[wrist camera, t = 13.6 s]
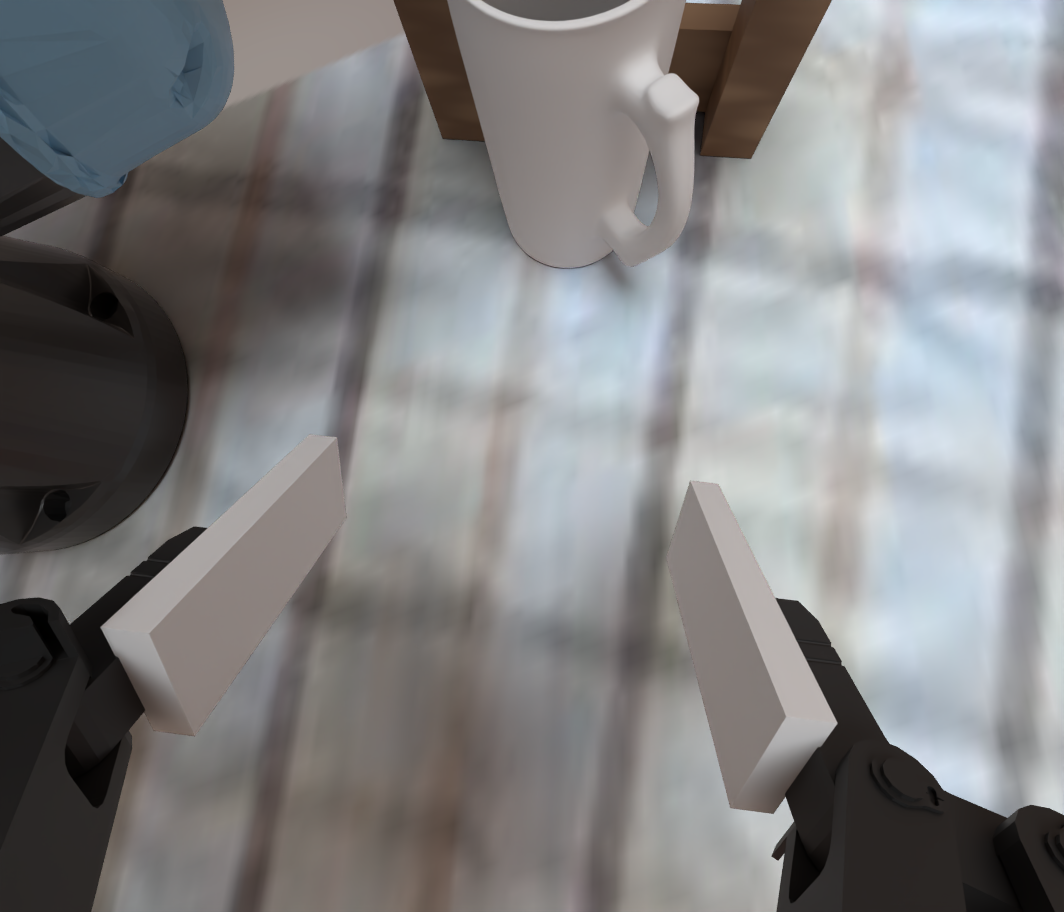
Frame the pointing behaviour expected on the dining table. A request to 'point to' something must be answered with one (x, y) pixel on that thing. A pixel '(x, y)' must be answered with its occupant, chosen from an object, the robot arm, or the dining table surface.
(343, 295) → the dining table surface
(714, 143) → the brown wooden frame
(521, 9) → the mug
